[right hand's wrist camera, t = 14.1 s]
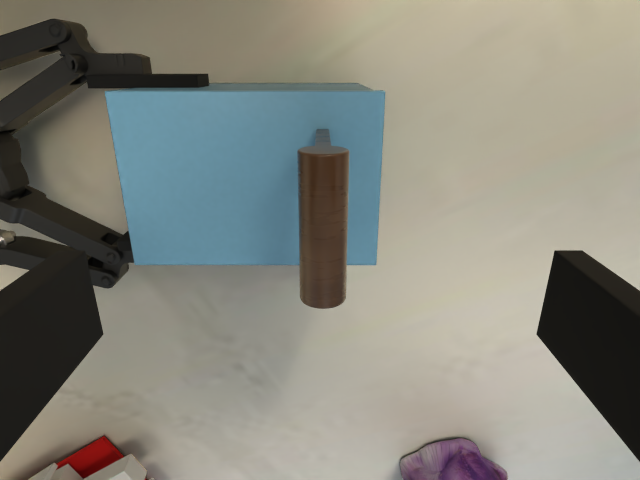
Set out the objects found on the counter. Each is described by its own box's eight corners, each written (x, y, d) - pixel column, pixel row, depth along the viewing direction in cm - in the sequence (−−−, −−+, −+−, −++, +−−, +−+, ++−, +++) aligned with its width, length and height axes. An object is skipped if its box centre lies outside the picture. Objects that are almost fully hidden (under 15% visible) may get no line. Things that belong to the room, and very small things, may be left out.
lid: (383, 90, 23) (417, 103, 15) (374, 259, 26) (398, 345, 18) (111, 90, 23) (-5, 103, 15) (139, 259, 26) (59, 344, 18)
